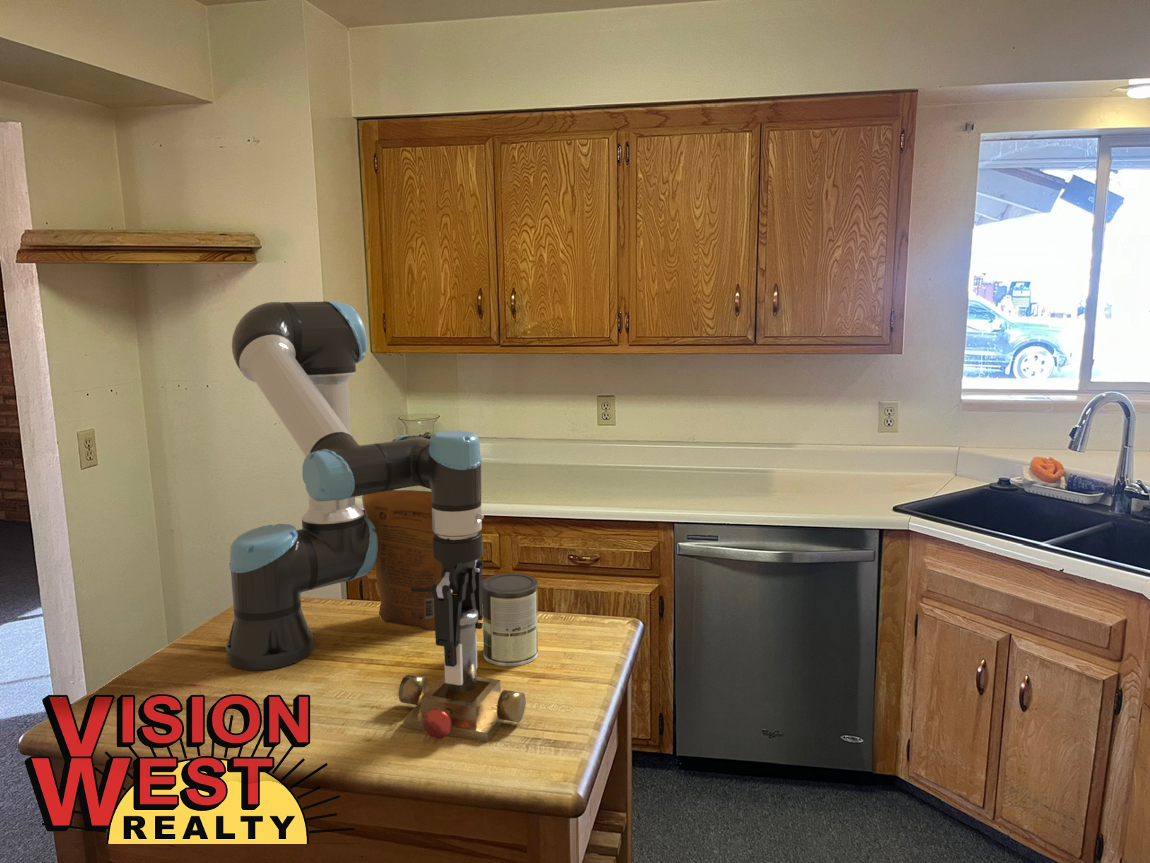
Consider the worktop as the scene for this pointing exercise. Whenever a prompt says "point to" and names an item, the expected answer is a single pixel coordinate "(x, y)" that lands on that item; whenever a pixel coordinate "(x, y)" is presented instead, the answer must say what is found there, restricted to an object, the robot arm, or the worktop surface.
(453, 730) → the valve body
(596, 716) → the worktop surface
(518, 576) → the coffee can
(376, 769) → the worktop surface
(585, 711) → the worktop surface
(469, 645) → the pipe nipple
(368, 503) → the pancake mix bag
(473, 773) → the worktop surface
